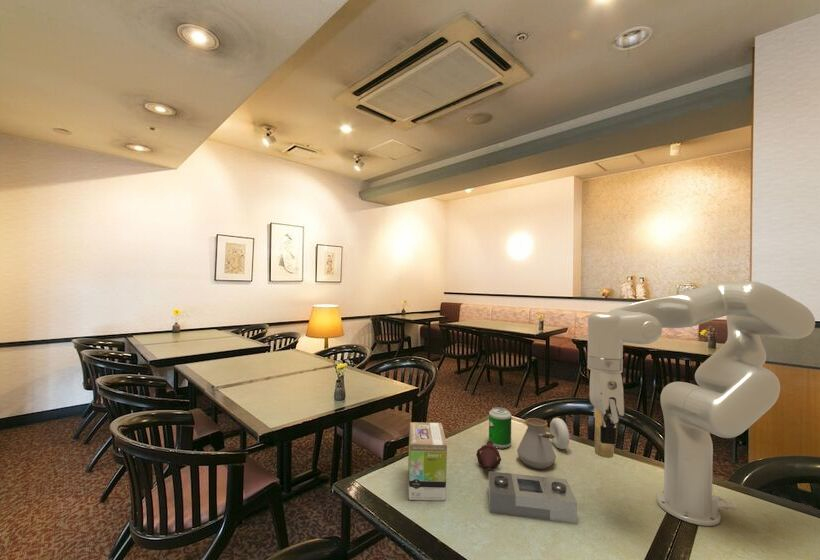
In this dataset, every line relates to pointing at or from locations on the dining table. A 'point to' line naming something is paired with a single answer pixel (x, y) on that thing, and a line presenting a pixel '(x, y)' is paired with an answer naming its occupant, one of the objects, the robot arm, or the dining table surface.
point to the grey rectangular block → (531, 497)
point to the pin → (600, 448)
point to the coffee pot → (536, 445)
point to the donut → (559, 433)
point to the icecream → (488, 456)
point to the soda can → (500, 427)
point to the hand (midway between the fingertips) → (604, 438)
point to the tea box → (427, 461)
